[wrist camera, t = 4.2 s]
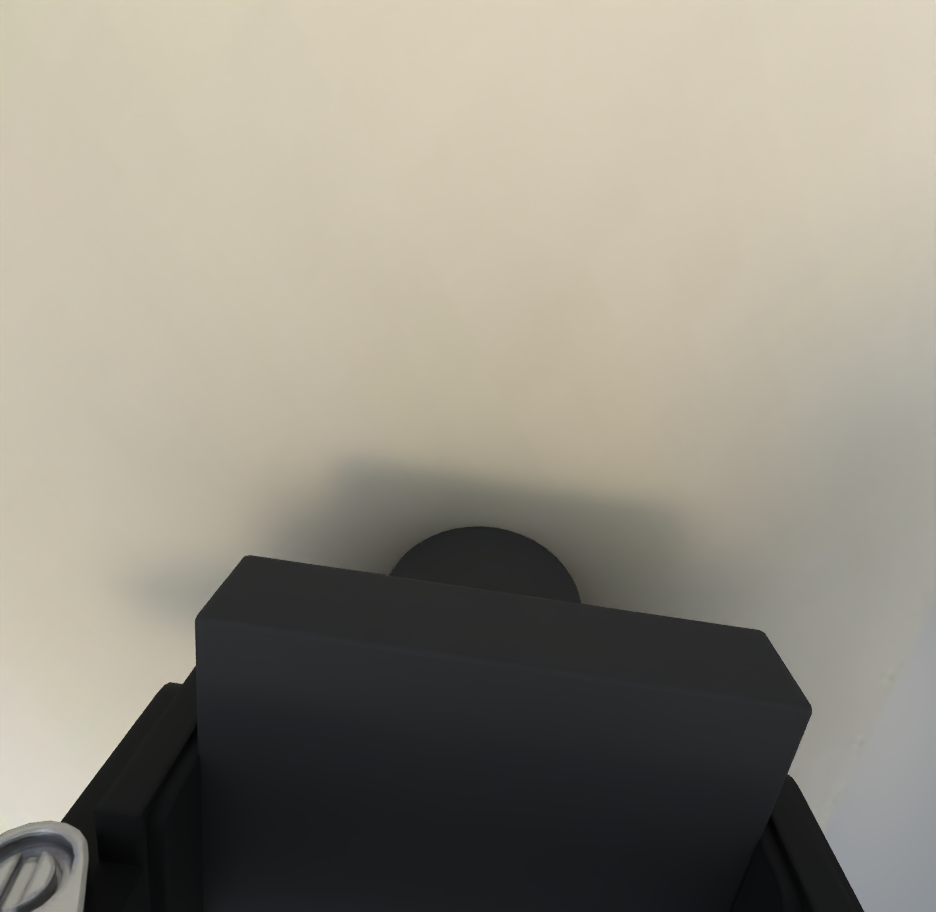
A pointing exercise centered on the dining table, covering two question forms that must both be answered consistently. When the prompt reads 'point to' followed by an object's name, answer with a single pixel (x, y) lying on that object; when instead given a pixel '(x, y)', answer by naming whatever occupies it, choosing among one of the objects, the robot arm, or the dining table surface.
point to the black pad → (478, 740)
